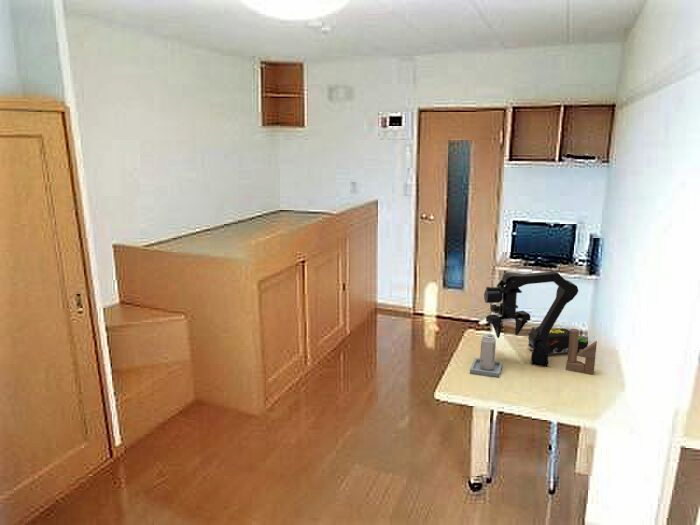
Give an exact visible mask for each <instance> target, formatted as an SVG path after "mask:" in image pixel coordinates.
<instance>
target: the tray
mask: <svg viewBox="0 0 700 525" xmlns="http://www.w3.org/2000/svg"><path fill="white" fill-rule="evenodd" d="M503 363H504V362H503V361H497V360H495V365H494V369H493V370H492V371H485V370H482V369H481V367H480V358H477V357H475V358H474V360H473V362H472V364H471V366H470V369H469V374H470V375H477V376H484V377H489V378H496V379H500V377H501V376H500V375H501V373H502V369H503Z"/></svg>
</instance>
